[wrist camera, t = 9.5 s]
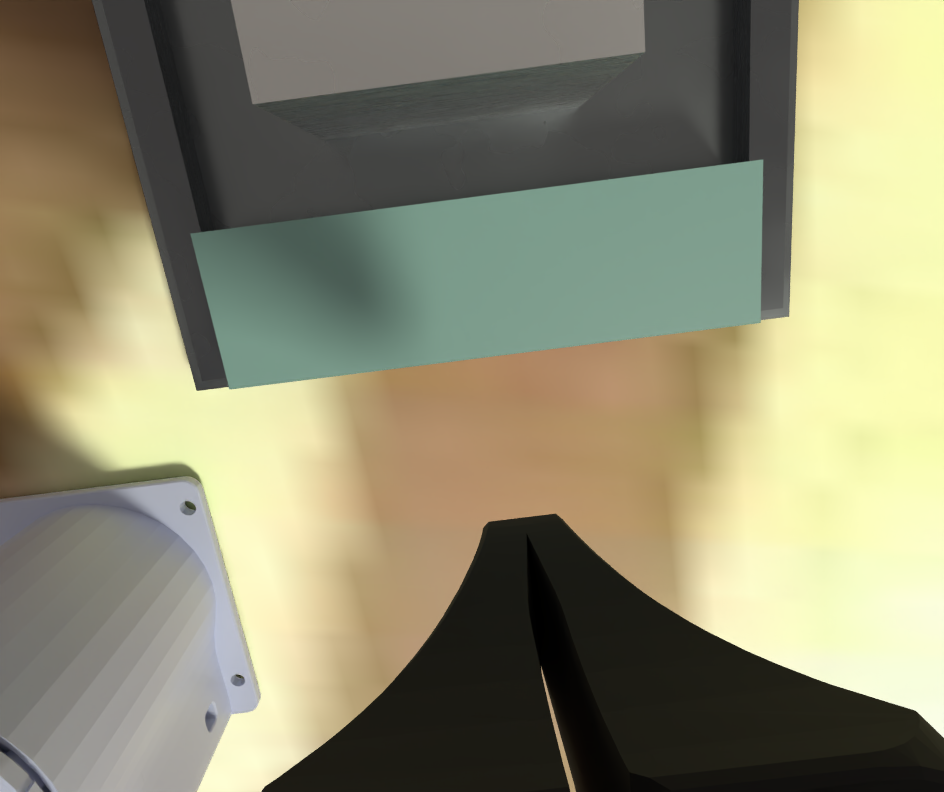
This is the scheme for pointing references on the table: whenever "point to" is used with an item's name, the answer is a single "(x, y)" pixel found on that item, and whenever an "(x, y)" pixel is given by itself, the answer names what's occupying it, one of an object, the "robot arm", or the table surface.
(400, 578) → the table surface
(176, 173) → the vise bed
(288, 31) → the steel block
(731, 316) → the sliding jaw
